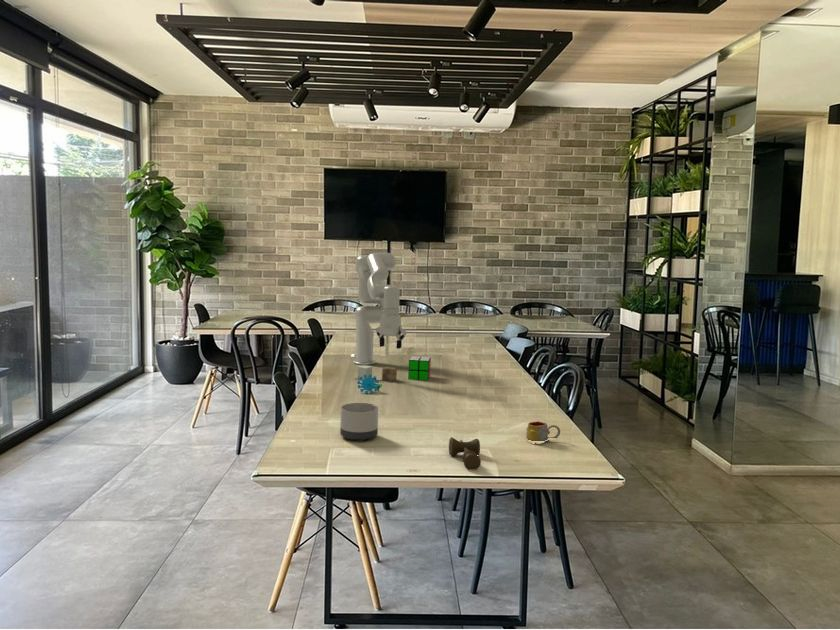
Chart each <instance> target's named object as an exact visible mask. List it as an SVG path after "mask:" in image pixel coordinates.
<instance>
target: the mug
mask: <svg viewBox="0 0 840 630" xmlns="http://www.w3.org/2000/svg"><path fill="white" fill-rule="evenodd" d="M551 428H555V429H557V433H556V434H555V436H551V437H550V436H549V435H550V434H551V431H550V429H551ZM560 435H561V429H560V427H559V426H558V425H556V424H551V425H549V426H548V424H547V423H546V422H542V421H537V420H536V421H532V422H531V421H530V422H528V424H527V427H526V435H525V438H526V440H527V439H528V440H531V441H545V440H547V439H548V438H556V439H557V438H559V436H560ZM528 440H527V441H528Z"/></svg>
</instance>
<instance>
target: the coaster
mask: <svg viewBox="0 0 840 630" xmlns="http://www.w3.org/2000/svg"><path fill="white" fill-rule="evenodd" d="M378 380H379V382H383V383H384V382H385V383H390V384H392V383H396V382H399V381H401V379H397V378H396V380H395V381H392V382H388V381H382V378H381V379H378Z"/></svg>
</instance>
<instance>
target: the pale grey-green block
mask: <svg viewBox="0 0 840 630" xmlns="http://www.w3.org/2000/svg"><path fill="white" fill-rule="evenodd" d="M369 374H371V375H372V377H371V378H373V366H370V365H358V366H357V378H358V379H360V377H362V380H364V379H365V378H364V375H367V377H366V378H368V377H369ZM371 378H370V379H371Z"/></svg>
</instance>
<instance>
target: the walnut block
mask: <svg viewBox="0 0 840 630" xmlns="http://www.w3.org/2000/svg"><path fill="white" fill-rule="evenodd" d="M397 369H398V368H397V367H392V366H386V367H382V371H381V379H382V381H381V382H383V381H388V382H387V383H389V382H392V381H395V380H396V379H397V375H398V373H397V372H398V370H397Z"/></svg>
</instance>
